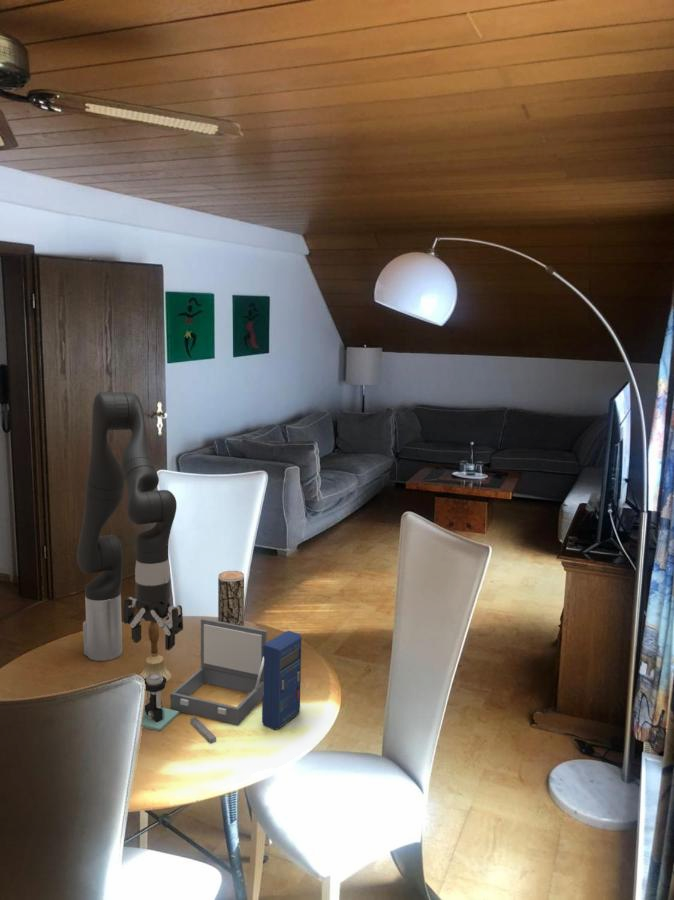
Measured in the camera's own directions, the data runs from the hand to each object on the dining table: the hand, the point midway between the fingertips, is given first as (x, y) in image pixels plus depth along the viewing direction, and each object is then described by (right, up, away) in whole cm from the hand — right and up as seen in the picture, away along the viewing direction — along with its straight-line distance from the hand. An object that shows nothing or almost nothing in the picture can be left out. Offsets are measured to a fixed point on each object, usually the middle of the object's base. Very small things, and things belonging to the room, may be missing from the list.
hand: (153, 645), depth 171 cm
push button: (-1, -18, +4) cm, 18 cm away
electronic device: (+29, -19, +5) cm, 35 cm away
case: (+13, -17, +12) cm, 24 cm away
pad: (0, -18, +4) cm, 18 cm away
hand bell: (-5, -15, +22) cm, 27 cm away
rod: (+12, -20, -1) cm, 23 cm away
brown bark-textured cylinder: (+13, -13, +32) cm, 37 cm away
